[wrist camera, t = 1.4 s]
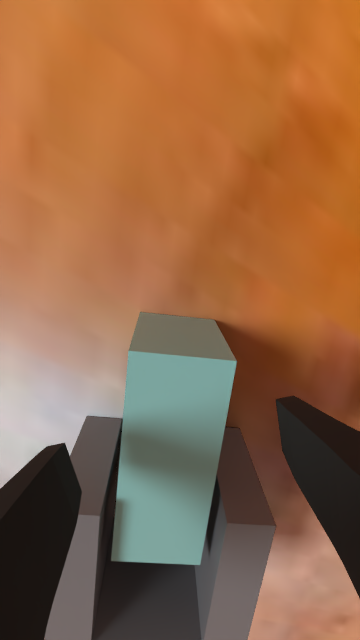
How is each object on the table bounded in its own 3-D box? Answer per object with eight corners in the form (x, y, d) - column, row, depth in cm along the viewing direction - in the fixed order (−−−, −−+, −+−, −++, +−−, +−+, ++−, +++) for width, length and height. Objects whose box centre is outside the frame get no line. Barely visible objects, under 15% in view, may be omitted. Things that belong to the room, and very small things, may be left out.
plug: (214, 319, 18) (236, 360, 12) (190, 472, 20) (200, 565, 15) (140, 311, 17) (128, 350, 12) (126, 467, 20) (110, 561, 14)
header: (239, 428, 19) (275, 525, 13) (206, 599, 23) (222, 739, 17) (86, 416, 19) (46, 512, 12) (77, 594, 22) (43, 738, 16)
